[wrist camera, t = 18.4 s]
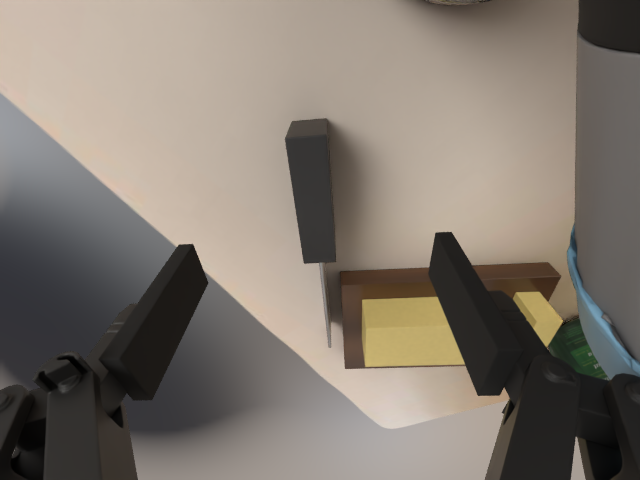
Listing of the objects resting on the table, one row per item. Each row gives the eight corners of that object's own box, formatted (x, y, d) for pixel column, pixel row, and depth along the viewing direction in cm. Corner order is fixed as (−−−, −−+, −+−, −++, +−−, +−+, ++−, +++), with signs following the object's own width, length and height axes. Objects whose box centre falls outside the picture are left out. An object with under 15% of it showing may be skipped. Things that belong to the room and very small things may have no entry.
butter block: (362, 299, 29) (365, 328, 26) (466, 295, 28) (482, 324, 26) (361, 337, 32) (365, 367, 30) (454, 334, 32) (467, 364, 29)
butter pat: (515, 292, 28) (536, 321, 25) (539, 291, 28) (563, 320, 25) (497, 332, 32) (514, 362, 29) (518, 332, 31) (538, 362, 29)
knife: (291, 121, 21) (284, 138, 18) (327, 117, 21) (327, 134, 18) (318, 320, 34) (317, 353, 31) (341, 319, 34) (342, 352, 30)
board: (340, 271, 30) (341, 285, 28) (548, 262, 28) (561, 276, 27) (344, 354, 38) (344, 369, 36) (506, 350, 36) (515, 364, 35)
